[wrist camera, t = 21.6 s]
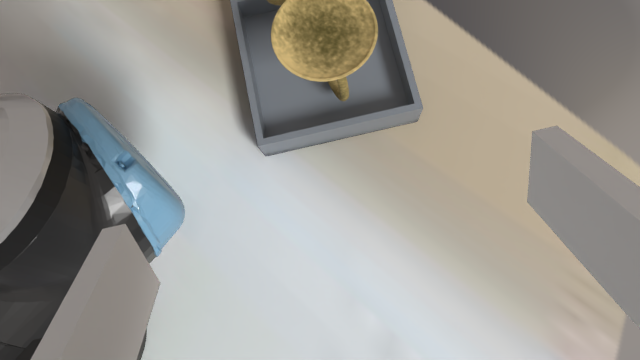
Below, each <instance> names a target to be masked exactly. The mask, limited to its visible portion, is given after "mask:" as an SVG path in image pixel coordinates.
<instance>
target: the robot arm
mask: <svg viewBox="0 0 640 360" xmlns="http://www.w3.org/2000/svg"><path fill="white" fill-rule="evenodd" d="M527 202H528V203H529V204H530V206H531V207H532V208H533V209H534V210H535V211H536V212H537V214H538V215H539V216H540V217H541V218H542V219H543V220H544V221H545V223H546V224H547V225H548V226H549V227H550V228H551V229H552V230H553V232H554V233H555V234H556V235H557V236H558V237H559V238H560V240H561V241H562V242H563V243H564V244H565V245H566V246H567V247H568V249H569V250H570V251H571V252H572V253H573V254H574V255H575V257H576V258H577V259H578V260H579V261H580V262H581V263H582V264H583V266H584V267H585V268H586V269H587V270H588V271H589V272H590V273H591V275H592V276H593V277H594V278H595V279H596V280H597V281H598V283H599V284H600V285H601V286H602V287H603V288H604V289H605V290H606V292H607V293H608V294H609V295H610V296H611V297H612V298H613V299H614V301H615V302H616V303H617V304H618V305H619V306H620V307H621V309H622V310H623V311H624V312H625V313H626V314H627V315H628V316H629V317H630V319H631V320H632V321H633V322H634V323H635V324H636V326H637V327H638V328H639V329H640V187H639V186H638V185H636V184H635V183H634V182H632V181H631V180H630V179H628V178H627V177H625V176H624V175H623V174H621V173H620V172H619V171H617V170H616V169H615V168H613V167H612V166H611V165H609V164H608V163H607V162H605V161H604V160H603V159H601V158H600V157H599V156H597V155H596V154H594V153H593V152H592V151H590V150H589V149H588V148H586V147H585V146H584V145H582V144H581V143H580V142H578V141H577V140H576V139H574V138H573V137H572V136H570V135H569V134H568V133H566V132H565V131H563V130H562V129H561V128H559V127H558V126H553V127H549V128H545V129H540V130H536V131H532V143H531V157H530V171H529V184H528V198H527ZM184 217H185V210H184V205H183V202H182V200H181V199H180V197H179V196H178V195H177V193H176V192H175V191H174V190H173V189H172V187H171V186H170V185H169V184H168V183H167V182H166V180H165V179H164V178H163V177H162V176H161V175H160V174H159V173H158V172H157V171H156V169H155V168H154V167H153V166H152V165H151V164H150V163H149V162H148V161H147V160H146V159H145V158H144V157H143V156H142V155H141V154H140V153H139V152H138V150H137V149H136V148H135V147H134V146H133V145H132V144H131V143H130V142H129V141H128V140H127V139H126V138H125V137H124V136H123V135H122V134H121V133H120V132H119V131H118V130H117V129H116V128H115V127H114V126H113V125H112V124H111V123H109V122H108V121H107V120H106V119H105V118H104V117H103V116H102V115H101V114H100V113H99V112H98V111H97V110H96V109H94V108H93V107H92V106H91V105H89V104H88V103H86V102H84V100H82V99H80V98H73V99H70V100H69V101H67V102H64V103H62V104H60V105H59V106H58V109H57V111H56V112H54V111H52V110H51V109H49V108H47V107H46V106H44V105H43V104H41V103H40V102H38V101H36V100H35V99H33V98H30V97H28V96H27V95H24V94H19V93H6V94H0V360H140V359H141V357H142V354H143V350H144V347H145V341H146V332H147V325H148V322H149V318H150V315H151V312H152V309H153V305H154V302H155V299H156V296H157V293H158V289H159V286H160V282H159V280H158V278H157V277H156V275H155V273H154V271H153V270H152V268H151V266H150V265H149V263H150V262H151V261H152V260H153V259H154V258H155V257H157V256H159V255H160V253H161V249H162V248H163V247H164V245H165V244H166V243H167V242H168V241H169V239H170V238H171V237H172V236H173V235H174V234H175V232H176V231H177V230H178V229H179V228H180V226H181V225H182V223H183V220H184Z"/></svg>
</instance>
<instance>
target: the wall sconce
mask: <svg viewBox="0 0 640 360" xmlns="http://www.w3.org/2000/svg"><path fill="white" fill-rule="evenodd" d="M267 1H268V2H269V3H271V4H274V5H279V6H281V7H280V8H279V10H278V11H277V13H276V15H275V17H274V20H273V23H272V28H271V42H272V47H273V50H274V52H275V54H276V56H277V58H278V60H279V61H280V62H281V64H282V65H283V66H284V67H285V68H286V69H287V70H289V71H290V72H291V73H293V74H295V75H296V76H298V77H301V78H303V79H306V80H310V81H317V82H328V84H329V85H330V87H331V89H332V91H333V92H334V94H335V95H336V97H337V98H338V99H339V100H340V101H346V100H347V99H348V97H349V87H348V82H347V78H346V76H348V75H350V74H352V73H354V72H355V71H356V70H358V69H359V68H360V67H361V66H362V65H363V64H364V63H365V62H366V61H367V60H368V58H369V57H370V55H371V54H372V52H373V50H374V48H375V45H376V42H377V36H378V24H377V19H376V15H375V13H374V11H373V9H372V7H371V6H370V4H369V3H368V2H367V1H366V0H267Z"/></svg>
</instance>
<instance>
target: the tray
mask: <svg viewBox="0 0 640 360" xmlns="http://www.w3.org/2000/svg"><path fill="white" fill-rule="evenodd" d="M366 1H367V2H368V3H369V4H370V6H371V7H372V9H373V11H374V13H375V15H376V19H377V24H378V36H377V42H376V45H375V48H374V50H373V52H372V54H371V55H370V57H369V58H368V60H367V61H366V62H365V63H364V64H363V65H362V66H361V67H360V68H359V69H358V70H356V71H355V72H354V73H352V74H350V75H348V76H346V78H347V82H348V87H349V97H348V99H347V100H346V101H340V100H339V99H338V98H337V97H336V95H335V94H334V92H333V91H332V89H331V87H330V85H329V84H328V82H317V81H310V80H306V79H303V78H301V77H298V76H296V75H295V74H293V73H291V72H290V71H289V70H287V69H286V68H285V67H284V66H283V65H282V64H281V62H280V61H279V60H278V58H277V56H276V54H275V52H274V50H273V47H272V42H271V28H272V23H273V20H274V17H275V15H276V13H277V11H278V10H279V8H280V7H281V6H279V5H274V4H271V3H269V2H268V1H267V0H230V2H231V7H232V12H233V18H234V23H235V28H236V33H237V39H238V44H239V49H240V55H241V60H242V65H243V71H244V76H245V81H246V86H247V92H248V97H249V102H250V108H251V113H252V118H253V123H254V129H255V134H256V139H257V145H258V147H259V148H260V150H261V151H262V152H263V154H264V155H265V156H270V155H274V154H279V153H283V152H287V151H292V150H296V149H300V148H305V147H309V146H313V145H318V144H322V143H326V142H331V141H335V140H339V139H344V138H348V137H352V136H357V135H361V134H365V133H370V132H374V131H378V130H383V129H387V128H391V127H396V126H400V125H405V124H409V123H413V122H417V121H418V119H419V117H420V114H421V112H422V110H423V106H422V103H421V99H420V96H419V92H418V89H417V85H416V82H415V78H414V75H413V71H412V68H411V64H410V61H409V57H408V54H407V50H406V47H405V43H404V40H403V36H402V33H401V29H400V26H399V22H398V19H397V15H396V12H395V8H394V5H393V1H392V0H366Z"/></svg>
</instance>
